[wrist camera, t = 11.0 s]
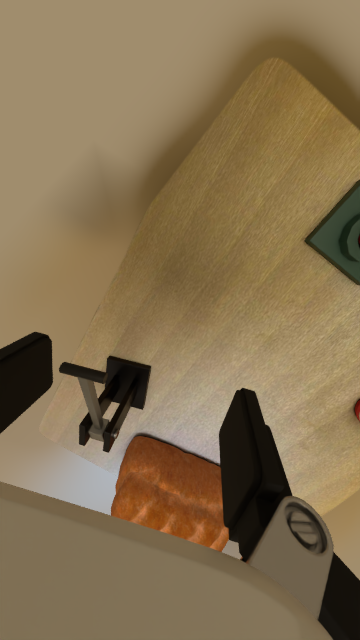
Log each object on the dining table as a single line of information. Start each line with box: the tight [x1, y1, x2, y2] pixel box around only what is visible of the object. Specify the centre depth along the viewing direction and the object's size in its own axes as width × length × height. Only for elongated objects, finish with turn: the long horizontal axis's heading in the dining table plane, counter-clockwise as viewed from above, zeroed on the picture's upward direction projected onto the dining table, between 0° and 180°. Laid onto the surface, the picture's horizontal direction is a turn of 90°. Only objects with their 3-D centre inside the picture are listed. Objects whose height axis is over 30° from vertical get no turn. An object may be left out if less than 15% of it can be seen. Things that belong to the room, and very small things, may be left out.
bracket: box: [79, 356, 151, 452], centre depth 37 cm, size 11×9×14 cm
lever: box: [59, 362, 110, 442], centre depth 28 cm, size 18×5×2 cm, turn 168°
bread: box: [111, 436, 229, 552], centre depth 44 cm, size 14×26×16 cm, turn 67°
